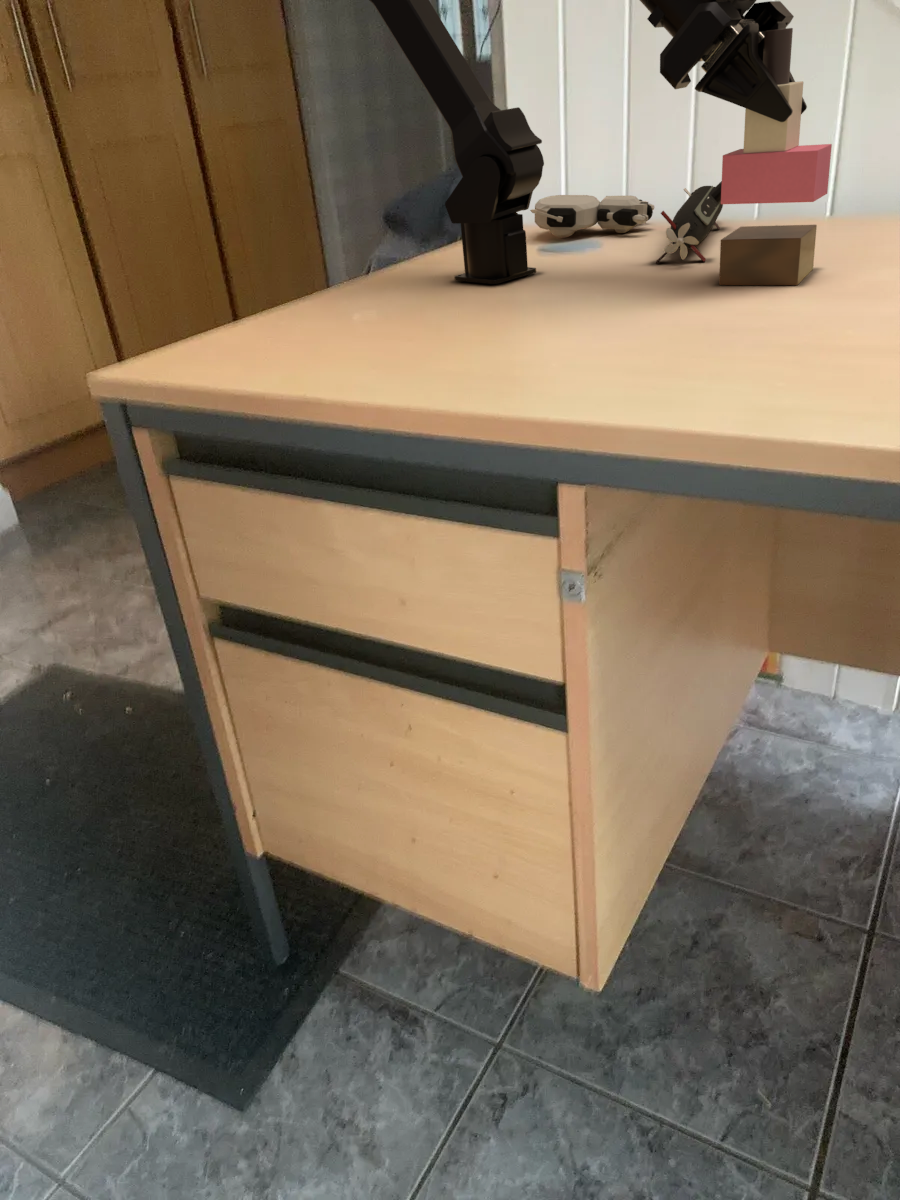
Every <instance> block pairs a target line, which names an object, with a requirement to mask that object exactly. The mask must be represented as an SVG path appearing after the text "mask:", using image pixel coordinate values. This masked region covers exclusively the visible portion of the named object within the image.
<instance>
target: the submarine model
mask: <svg viewBox="0 0 900 1200" xmlns="http://www.w3.org/2000/svg"><path fill="white" fill-rule="evenodd" d="M721 185H722V180H721V181H720V182H719V183H718V184H717V185H716V186H713V185H703V186H699V187H698V188H697V189H695V190H694V191H692V192H689V190H688V189H687V187H684V188H683V191H684V192H685V193H686V195H687V196H688V198H687V199H686V201H685V202H683V204H682V205H681V206H680V208H679V209H678V210H677V211H676V213H675V215H674V217H673V220H672V218H671V217H670V216H669V215H668V214H667V213H666V212H665V210H662V211H661V212H660V215H661V216H662V217H663V218H664V219H665V220H666V221H667V223H668V224H669V225H670V227H667V228H666V230H665V235H666V238H667V240H668V241H669V242H671V244H669V245H667V246H665V247H664V249H663V252H664V253H663V254H661V255H660V256H659V258H658V259H656V261H655V264H658V263H660V261H661V260H663V258H664V257H666V256H667V255H668V254H674V253H675V252H677V250H679V256H680V259H681V260H683V261H684V260H686V258H687V256H688V254H689V251H688V250H689V249H691V250H692V252H694V253H695V254H696V255H697V256H698V257H699V259H700V260H701V261H702V262H706V261H707V258H706V257H705V256H704V255H703V254H702V253H701V252H700V250H699V249H698V248H697V247H696V246H697V245H699V244H701V243H702V242H703V241H704V240H705V239H706V238H707V236H708V235H709V234H710V232H711V230H712V228H713V226H714V227H716V228H717V230H720V229H721V226H719V225H718V224H717V222H716V221H717V220H718V218H719V216H720V214H721V212H722V211H723V207H724V204H721Z"/></svg>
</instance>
